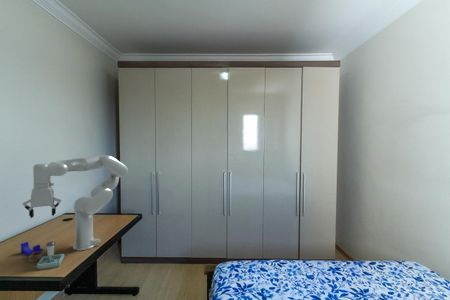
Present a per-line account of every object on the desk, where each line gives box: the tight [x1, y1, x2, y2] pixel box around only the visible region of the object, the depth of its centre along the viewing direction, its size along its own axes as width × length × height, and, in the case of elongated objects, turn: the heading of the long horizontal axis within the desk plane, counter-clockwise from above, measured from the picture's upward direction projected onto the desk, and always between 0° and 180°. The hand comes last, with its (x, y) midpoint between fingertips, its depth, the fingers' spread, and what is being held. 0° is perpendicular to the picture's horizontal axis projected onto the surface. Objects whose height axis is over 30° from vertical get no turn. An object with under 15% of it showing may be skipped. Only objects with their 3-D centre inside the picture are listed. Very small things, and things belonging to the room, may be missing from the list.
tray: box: [35, 253, 65, 271], centre depth 129 cm, size 10×10×2 cm
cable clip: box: [20, 241, 44, 257], centre depth 141 cm, size 12×4×6 cm, turn 71°
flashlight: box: [45, 241, 56, 263], centre depth 129 cm, size 4×4×11 cm
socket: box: [27, 250, 46, 263], centre depth 135 cm, size 6×6×3 cm
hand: (42, 216), depth 133 cm, fingers open, 9 cm apart
